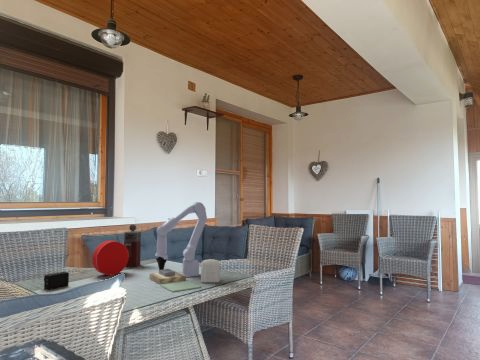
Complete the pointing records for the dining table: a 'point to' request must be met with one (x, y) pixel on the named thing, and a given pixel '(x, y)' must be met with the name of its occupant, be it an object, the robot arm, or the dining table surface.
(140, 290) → the dining table surface
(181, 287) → the mat
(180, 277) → the deck
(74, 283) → the dining table surface
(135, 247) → the glass decanter
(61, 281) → the digital camera
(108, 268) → the red thick disc
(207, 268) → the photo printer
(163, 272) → the slate tile
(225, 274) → the dining table surface
